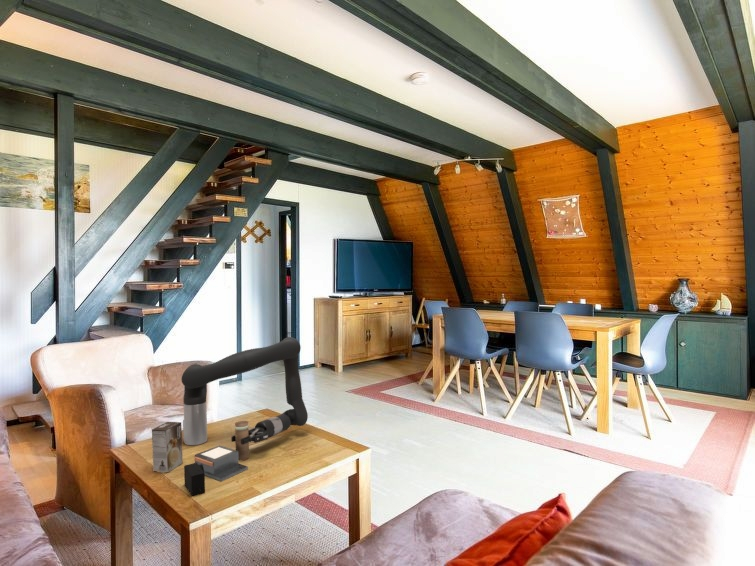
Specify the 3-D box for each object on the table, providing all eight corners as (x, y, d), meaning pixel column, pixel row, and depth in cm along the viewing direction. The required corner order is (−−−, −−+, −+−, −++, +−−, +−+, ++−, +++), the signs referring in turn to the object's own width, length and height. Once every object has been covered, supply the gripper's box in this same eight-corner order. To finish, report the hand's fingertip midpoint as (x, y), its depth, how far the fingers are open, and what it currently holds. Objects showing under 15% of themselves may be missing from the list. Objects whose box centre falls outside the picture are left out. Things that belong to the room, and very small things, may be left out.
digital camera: (208, 492, 157) (208, 471, 156) (191, 497, 153) (191, 476, 153) (200, 480, 165) (200, 461, 165) (184, 485, 162) (184, 465, 162)
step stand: (186, 468, 175) (186, 452, 175) (213, 457, 185) (213, 442, 185) (221, 481, 164) (220, 464, 164) (247, 469, 174) (247, 452, 174)
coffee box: (168, 461, 182) (167, 421, 181) (183, 463, 180) (182, 421, 180) (152, 472, 173) (151, 429, 172) (167, 473, 171) (166, 430, 171)
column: (232, 458, 184) (232, 423, 184) (243, 454, 188) (242, 419, 188) (241, 461, 181) (240, 425, 181) (252, 456, 185) (251, 422, 185)
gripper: (257, 416, 200) (224, 427, 186) (281, 422, 192) (249, 434, 178) (257, 433, 200) (224, 446, 186) (281, 440, 193) (249, 454, 178)
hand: (236, 440), depth 182 cm, fingers closed on column, 5 cm apart
